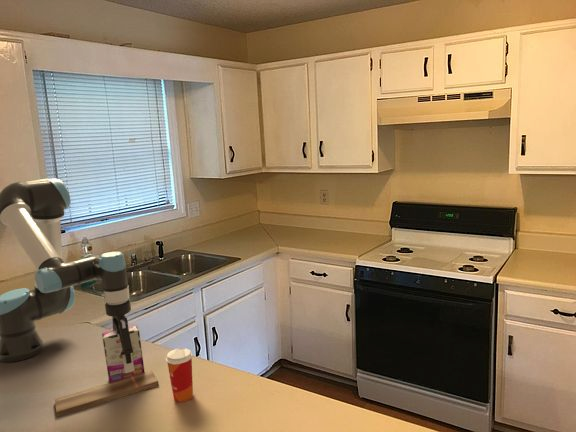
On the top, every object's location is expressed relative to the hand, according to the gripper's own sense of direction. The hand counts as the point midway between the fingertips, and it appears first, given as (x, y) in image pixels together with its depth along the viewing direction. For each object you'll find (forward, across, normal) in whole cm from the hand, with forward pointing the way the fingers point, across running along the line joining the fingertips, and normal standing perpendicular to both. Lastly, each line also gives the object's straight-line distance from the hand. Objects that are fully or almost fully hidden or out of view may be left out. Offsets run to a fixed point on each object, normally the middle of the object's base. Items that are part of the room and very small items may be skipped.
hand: (125, 363), depth 153 cm
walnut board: (+5, +7, -7) cm, 11 cm away
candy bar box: (+5, 0, 0) cm, 5 cm away
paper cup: (+5, +22, +12) cm, 26 cm away
